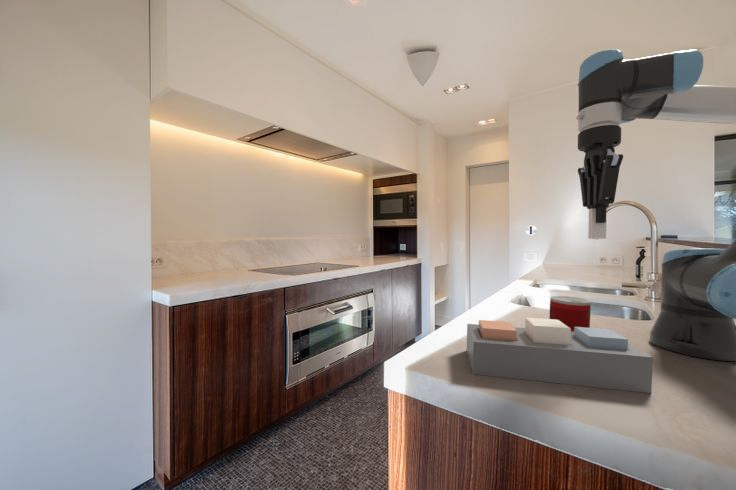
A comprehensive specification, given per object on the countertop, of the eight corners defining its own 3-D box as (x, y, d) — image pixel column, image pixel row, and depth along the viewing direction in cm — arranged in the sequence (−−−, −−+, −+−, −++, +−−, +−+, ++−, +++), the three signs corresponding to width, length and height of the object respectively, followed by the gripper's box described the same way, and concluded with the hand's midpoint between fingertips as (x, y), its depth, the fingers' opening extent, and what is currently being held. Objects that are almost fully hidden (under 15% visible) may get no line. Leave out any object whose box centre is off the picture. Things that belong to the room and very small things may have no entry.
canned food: (595, 352, 68) (597, 303, 68) (556, 349, 70) (557, 301, 69) (579, 341, 76) (580, 296, 75) (544, 338, 77) (545, 295, 77)
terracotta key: (508, 345, 63) (509, 322, 63) (515, 357, 58) (516, 330, 57) (478, 343, 65) (478, 319, 65) (482, 353, 59) (482, 328, 59)
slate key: (608, 354, 60) (609, 329, 59) (626, 367, 54) (628, 339, 54) (573, 351, 61) (574, 326, 61) (588, 363, 55) (589, 336, 55)
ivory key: (557, 344, 61) (557, 319, 61) (569, 355, 56) (570, 328, 55) (524, 341, 63) (525, 317, 63) (533, 352, 57) (534, 325, 57)
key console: (610, 363, 62) (612, 334, 62) (651, 393, 50) (652, 357, 50) (466, 350, 68) (467, 323, 68) (472, 373, 57) (473, 341, 56)
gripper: (566, 140, 73) (564, 238, 74) (596, 119, 61) (594, 238, 61) (601, 138, 72) (599, 238, 73) (639, 116, 59) (637, 238, 60)
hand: (597, 238), depth 67 cm, fingers closed
